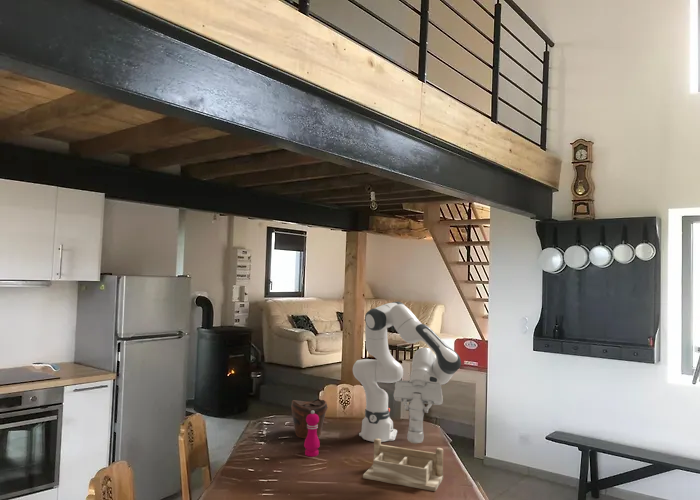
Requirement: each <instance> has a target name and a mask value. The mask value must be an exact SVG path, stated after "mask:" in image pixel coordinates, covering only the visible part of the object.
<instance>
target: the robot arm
mask: <svg viewBox="0 0 700 500" xmlns="http://www.w3.org/2000/svg"><path fill="white" fill-rule="evenodd" d="M364 321H365V322H364V323H365V328H364V329H365V331H364V334H365V336H364V337H365V350H366V351H367V353H368V354H369V355H370V356H372V357H374V358H375V359H372V358H371V359H369V358H363V359H357V360H356V361H355V363H353V366H352V374H353V376H354V378H355V379H356V380H357V381H358V382H359V383H360V384H361V386H362V387H363V390H364V393H365V404H366V405H365V409H364V410H365V411H364V418H363V419H362V420H361V422H362V423H361V432H359V433H358V436H359V437H361V438H362V439H363V440H364V441H365V440H366V441H369V442H372V443H374V439H381V443H383V442H391V441H395V440H396V438H397V434H398V430H397V429H395V428H394V421H393V420H392V419H391V416H390V412H391V408H390V407H389V394H388V392H386V390H384V389H383V388H381V387H380V386H379V385H378V383H386V384H391V383H392V384H393V383H394V391H393V399H394V400H395V401H396V402H403V406H404V411H405V412H409V404H408V403H410V402H411V400H412V399H413V397H412V393H413V392H420V393H421V394H422V398H421V400H422V401H423V403H424V405H425V404H427V406H425V408H424V414H425V413H426V414H428V413H429V409H430V408H431V407H432V405H436V406H437V405H439V406H441V405H442V404H443V403H444V402H443V401H444V399H443V398H444V397H443V390H442V389H443V388H442V386H443V385H446V384H448V383H449V381H450V380H451V379H452V377H453V376H454V375H455V373H456V372H458V371H459V369H460V368H461V366H462V360H461V357H460V355H459V354H458V353H457V351H455V350H454V349H453V348H451V347H450V346H448V345H447V344H446V343H445V341H444V340H442V338H440V337H439V336H438V335H437V333H436V332H435V331H434V330H433V329H432V328H430V326H428V325H426V324H424V323H422V322H421V321H420V320H419V319H418V317H417V316H416V315H415V314H414V313H413V312H412V310H411V309H409V307H408V306H406V305H405V304H404V303H403V302H401V301H392V302H388V303H384V304H382V305H380V306H377V307H374V308H371V309H369V310H368V311H366V313H365V316H364ZM391 327H394V329H395V331H396V332H397V334H399V336H400V338H401V339H402V340H403V341H404V342H406V343H408V344H416V343H419V342H420V341H421V342H424V343H425V344H426V346H428V347H429V348H428V347H419V348H418V349H417V350H415V352H414V353H413V354H414V355H413V357H412V361H411V372H410V376H409V380H402V378H403V376H404V367H403V366H402V364H401V363H400V362H399V361H397V360H396V359H395V358H394V356H393V355H392V354H391V351H390V348H389V340H388V339H389V338H388V329H389V328H391Z"/></svg>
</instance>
